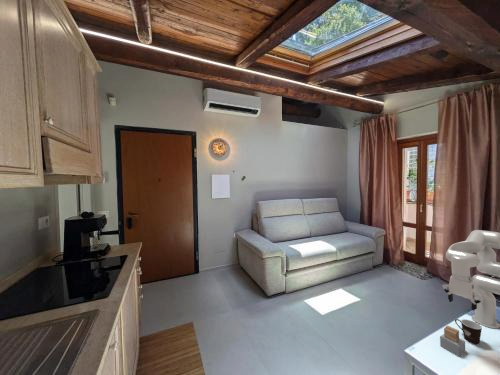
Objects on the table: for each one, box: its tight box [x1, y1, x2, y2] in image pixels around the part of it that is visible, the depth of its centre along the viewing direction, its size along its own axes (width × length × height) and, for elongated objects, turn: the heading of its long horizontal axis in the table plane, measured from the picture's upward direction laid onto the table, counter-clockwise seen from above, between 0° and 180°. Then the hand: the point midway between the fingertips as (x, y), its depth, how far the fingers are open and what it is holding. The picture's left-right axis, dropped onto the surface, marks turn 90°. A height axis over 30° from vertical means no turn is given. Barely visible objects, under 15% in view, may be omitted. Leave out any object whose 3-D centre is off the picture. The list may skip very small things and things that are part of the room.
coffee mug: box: [454, 318, 483, 345], centre depth 125 cm, size 12×9×10 cm
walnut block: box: [443, 325, 460, 342], centre depth 119 cm, size 5×5×5 cm
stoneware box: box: [439, 333, 466, 357], centre depth 119 cm, size 8×8×6 cm
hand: (462, 305), depth 119 cm, fingers open, 9 cm apart
